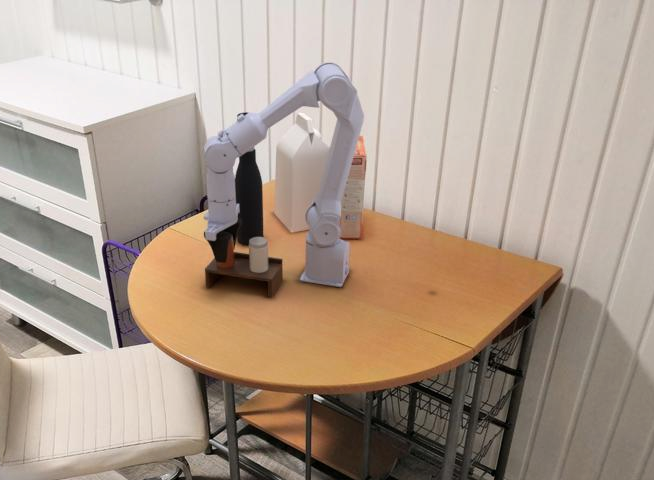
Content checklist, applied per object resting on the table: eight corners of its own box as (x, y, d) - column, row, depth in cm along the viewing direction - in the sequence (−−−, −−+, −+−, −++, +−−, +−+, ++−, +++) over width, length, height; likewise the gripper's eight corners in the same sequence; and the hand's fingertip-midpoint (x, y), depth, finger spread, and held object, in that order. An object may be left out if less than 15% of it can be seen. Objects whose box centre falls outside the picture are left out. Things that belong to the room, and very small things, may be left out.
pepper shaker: (237, 260, 160) (235, 233, 156) (230, 268, 157) (229, 241, 153) (220, 257, 161) (218, 230, 157) (213, 266, 158) (211, 238, 154)
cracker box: (362, 239, 178) (367, 155, 166) (337, 239, 178) (340, 155, 166) (359, 215, 189) (363, 134, 177) (335, 215, 190) (338, 134, 177)
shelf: (282, 281, 162) (282, 258, 159) (272, 298, 156) (271, 275, 153) (218, 271, 165) (217, 249, 162) (206, 287, 160) (204, 265, 156)
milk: (273, 213, 190) (272, 111, 175) (314, 206, 194) (316, 106, 179) (291, 232, 181) (291, 127, 166) (334, 225, 185) (337, 120, 170)
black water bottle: (268, 238, 179) (266, 113, 161) (253, 248, 174) (249, 121, 157) (247, 231, 182) (242, 108, 164) (231, 241, 177) (225, 116, 160)
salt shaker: (270, 265, 158) (270, 237, 154) (265, 274, 155) (264, 246, 151) (253, 262, 159) (252, 235, 155) (247, 271, 156) (245, 243, 152)
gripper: (216, 181, 157) (220, 239, 165) (189, 208, 146) (194, 269, 153) (247, 185, 155) (249, 243, 163) (222, 213, 144) (226, 274, 152)
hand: (225, 256), depth 158 cm, fingers closed on pepper shaker, 4 cm apart
